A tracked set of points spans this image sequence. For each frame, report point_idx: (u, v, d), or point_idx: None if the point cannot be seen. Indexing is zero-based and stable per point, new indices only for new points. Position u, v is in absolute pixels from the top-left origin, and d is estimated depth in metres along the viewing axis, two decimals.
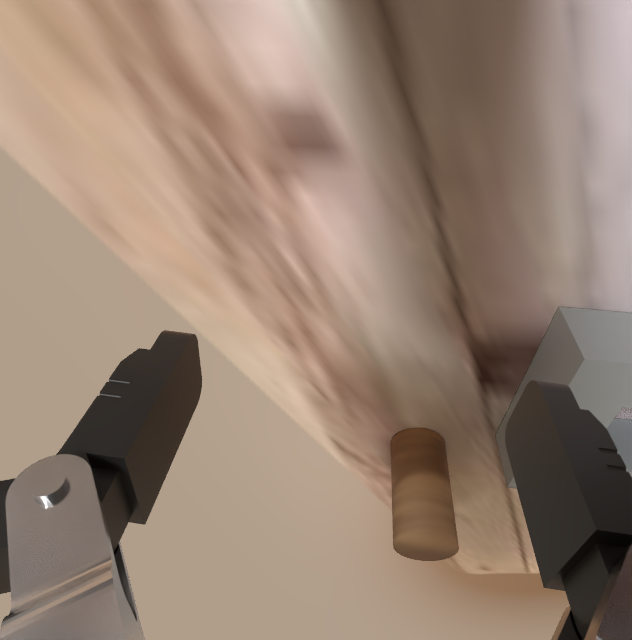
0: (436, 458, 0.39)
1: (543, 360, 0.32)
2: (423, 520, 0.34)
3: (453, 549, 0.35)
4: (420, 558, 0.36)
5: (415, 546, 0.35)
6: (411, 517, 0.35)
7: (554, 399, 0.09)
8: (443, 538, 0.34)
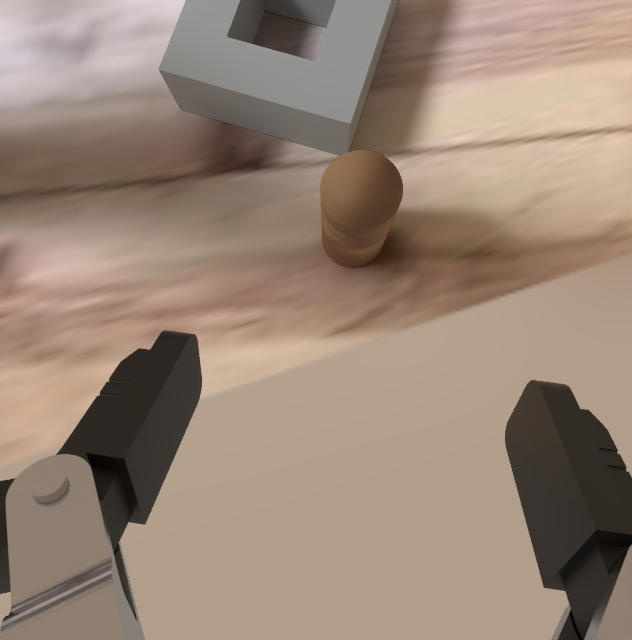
0: None
1: (219, 112, 0.37)
2: None
3: (367, 156, 0.27)
4: (395, 198, 0.27)
5: (356, 200, 0.27)
6: (322, 207, 0.28)
7: (554, 399, 0.09)
8: (336, 165, 0.27)
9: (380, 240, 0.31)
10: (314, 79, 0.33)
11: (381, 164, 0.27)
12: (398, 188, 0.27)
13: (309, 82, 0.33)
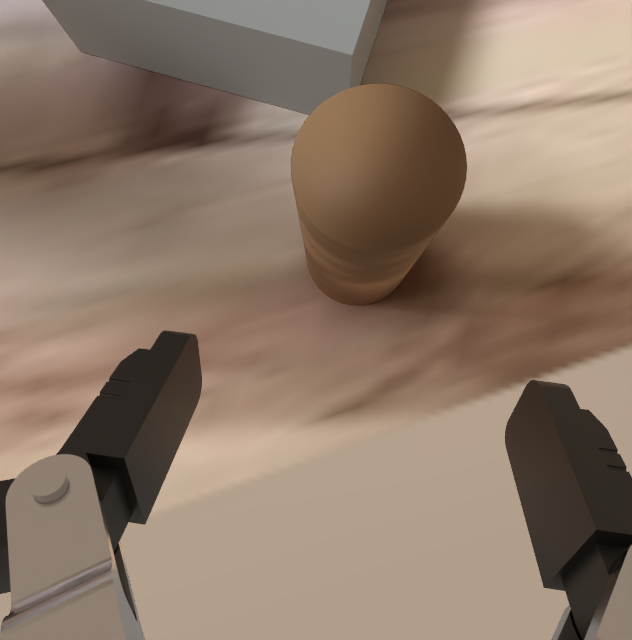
0: None
1: (138, 52, 0.23)
2: None
3: (389, 97, 0.13)
4: (450, 185, 0.13)
5: (368, 188, 0.13)
6: (297, 205, 0.14)
7: (554, 399, 0.09)
8: (324, 116, 0.13)
9: (410, 266, 0.17)
10: None
11: (419, 113, 0.13)
12: (457, 163, 0.13)
13: None
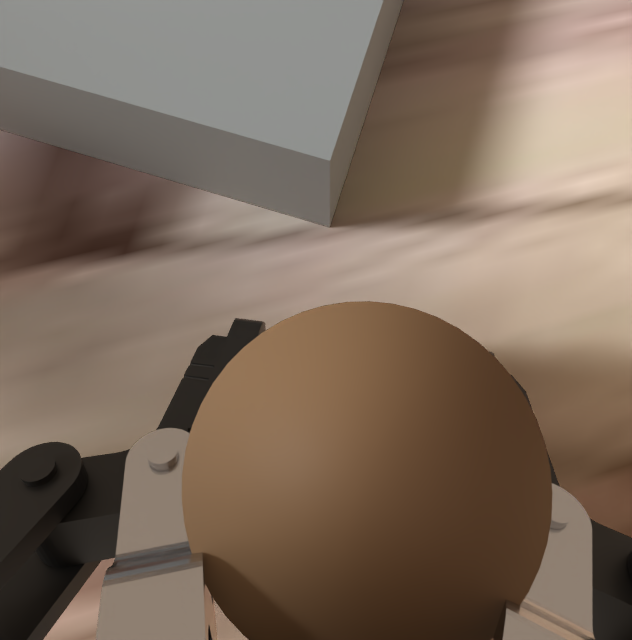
0: None
1: (32, 126, 0.16)
2: None
3: (388, 332, 0.06)
4: (519, 535, 0.06)
5: (343, 540, 0.06)
6: None
7: None
8: (256, 371, 0.06)
9: None
10: (232, 37, 0.12)
11: (451, 368, 0.06)
12: (532, 485, 0.06)
13: (218, 45, 0.12)
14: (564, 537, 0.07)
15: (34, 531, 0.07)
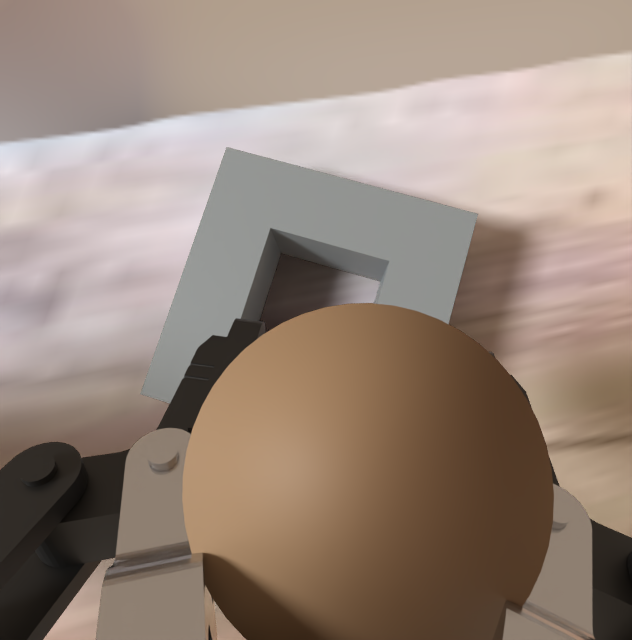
0: None
1: None
2: None
3: (389, 333, 0.06)
4: (520, 538, 0.06)
5: (344, 542, 0.06)
6: None
7: None
8: (256, 374, 0.06)
9: None
10: None
11: (452, 370, 0.06)
12: (533, 488, 0.06)
13: None
14: (564, 537, 0.07)
15: (34, 531, 0.07)
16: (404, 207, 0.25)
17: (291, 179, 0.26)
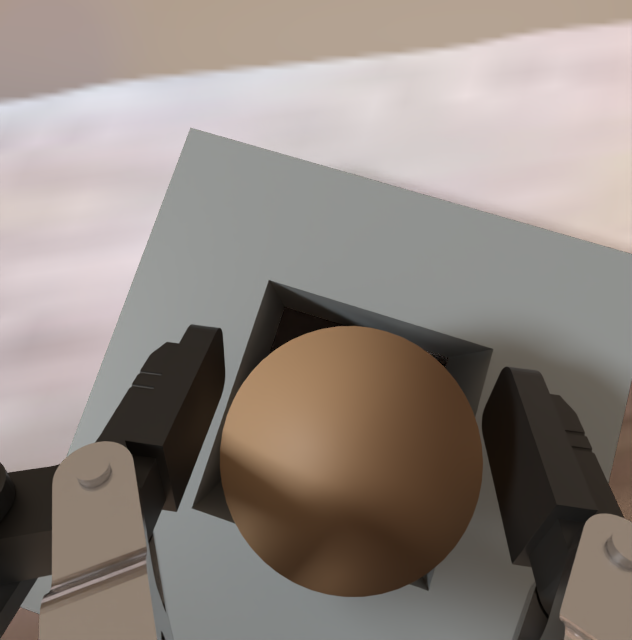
0: None
1: None
2: None
3: (367, 348, 0.09)
4: (458, 492, 0.08)
5: (334, 496, 0.08)
6: None
7: (525, 384, 0.10)
8: (272, 377, 0.09)
9: None
10: None
11: (412, 374, 0.09)
12: (468, 457, 0.08)
13: None
14: None
15: None
16: (519, 246, 0.14)
17: (308, 189, 0.14)
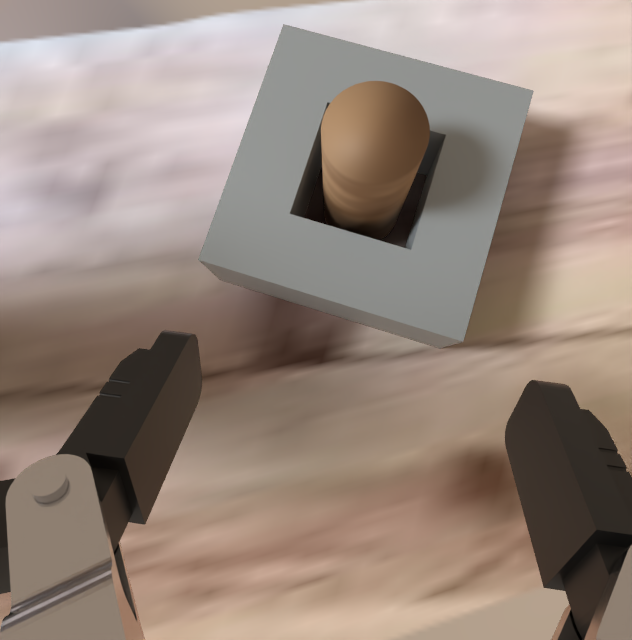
0: None
1: (273, 293, 0.28)
2: None
3: (382, 89, 0.21)
4: (419, 143, 0.20)
5: (369, 145, 0.20)
6: (323, 158, 0.22)
7: (554, 399, 0.09)
8: (342, 101, 0.21)
9: (397, 205, 0.24)
10: (411, 276, 0.24)
11: (401, 99, 0.21)
12: (423, 130, 0.20)
13: (404, 280, 0.24)
14: None
15: None
16: (460, 83, 0.26)
17: (348, 56, 0.26)
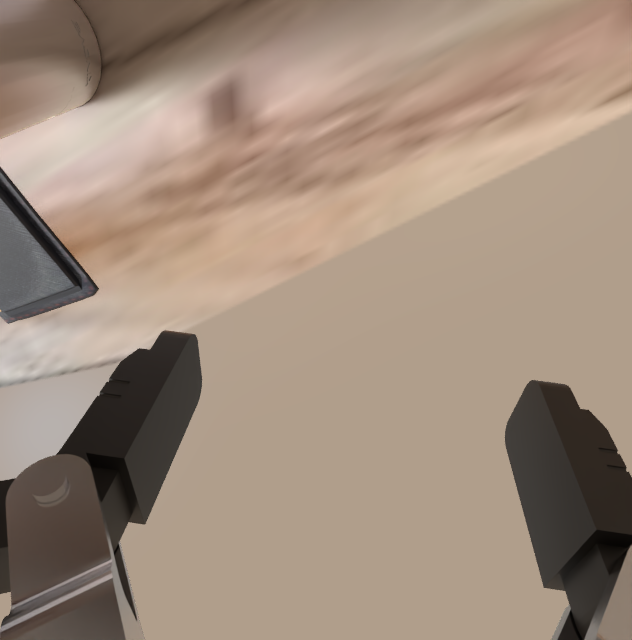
0: None
1: None
2: None
3: None
4: None
5: None
6: None
7: (554, 399, 0.09)
8: None
9: None
10: None
11: None
12: None
13: None
14: None
15: None
16: None
17: None
